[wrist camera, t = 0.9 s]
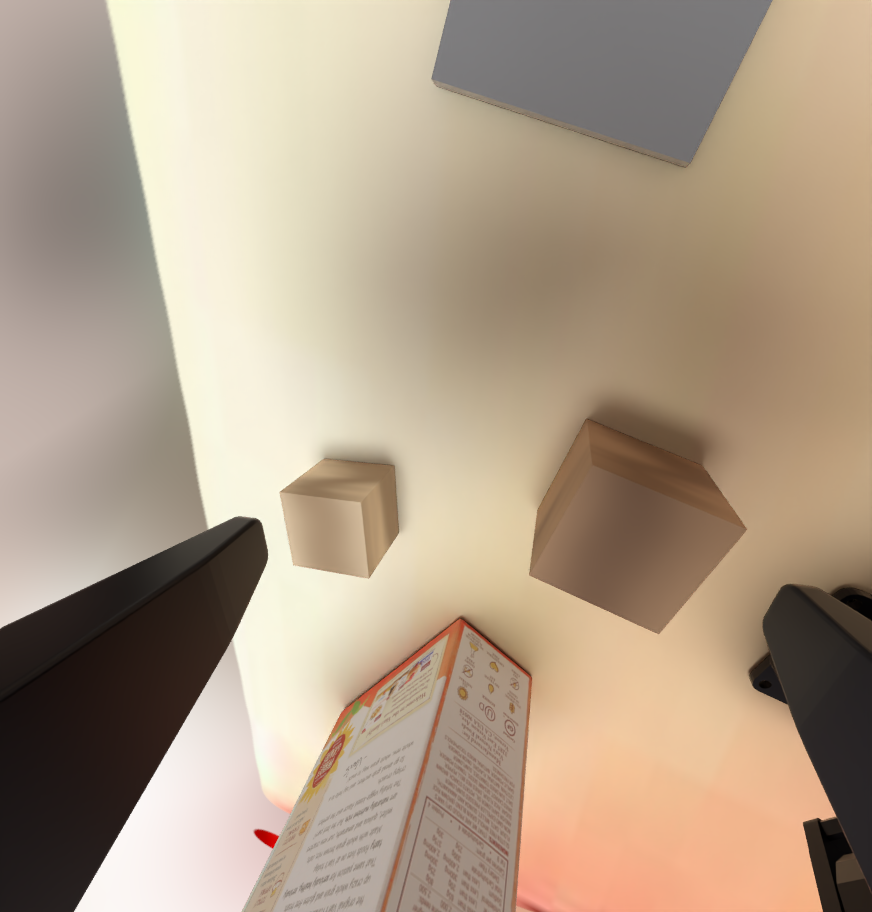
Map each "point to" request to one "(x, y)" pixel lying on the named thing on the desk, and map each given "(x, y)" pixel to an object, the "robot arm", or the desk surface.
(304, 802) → the cracker box
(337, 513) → the oak block
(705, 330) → the desk surface
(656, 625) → the walnut cube
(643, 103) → the slate coaster
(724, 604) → the desk surface
